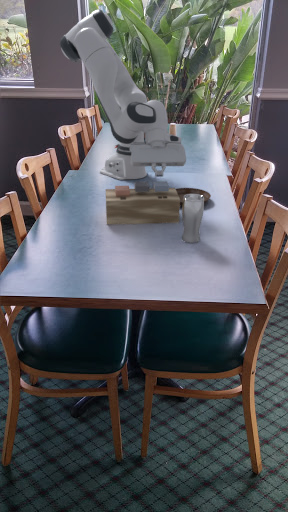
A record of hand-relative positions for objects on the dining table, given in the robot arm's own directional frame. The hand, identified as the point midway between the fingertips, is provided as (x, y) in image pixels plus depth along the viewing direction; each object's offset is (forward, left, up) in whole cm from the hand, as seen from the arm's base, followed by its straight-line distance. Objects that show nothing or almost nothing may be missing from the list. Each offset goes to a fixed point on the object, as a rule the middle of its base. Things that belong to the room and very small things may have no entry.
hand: (159, 176), depth 165 cm
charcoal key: (-4, -5, -4) cm, 8 cm away
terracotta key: (-10, -10, -6) cm, 15 cm away
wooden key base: (-3, -6, -15) cm, 16 cm away
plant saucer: (+3, +19, -15) cm, 25 cm away
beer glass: (+21, -12, -15) cm, 28 cm away
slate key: (+1, -1, -4) cm, 5 cm away
